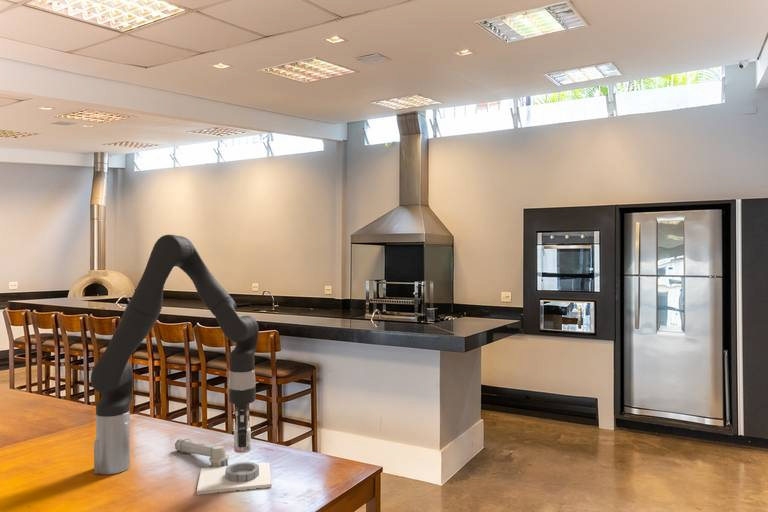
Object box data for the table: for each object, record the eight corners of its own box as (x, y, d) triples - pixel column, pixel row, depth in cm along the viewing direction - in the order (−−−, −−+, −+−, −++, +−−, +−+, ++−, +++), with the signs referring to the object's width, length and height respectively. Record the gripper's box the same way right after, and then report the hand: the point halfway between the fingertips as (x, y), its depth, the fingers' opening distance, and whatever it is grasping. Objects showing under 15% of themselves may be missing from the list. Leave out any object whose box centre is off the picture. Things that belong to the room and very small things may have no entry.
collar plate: (196, 494, 154) (196, 483, 154) (201, 471, 170) (201, 461, 170) (271, 487, 159) (271, 476, 159) (269, 465, 174) (269, 456, 174)
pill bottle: (235, 448, 167) (235, 419, 167) (252, 447, 167) (251, 419, 167) (232, 454, 162) (232, 424, 162) (249, 453, 163) (249, 424, 162)
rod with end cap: (186, 436, 190) (231, 442, 174) (188, 456, 190) (232, 464, 174) (172, 440, 186) (216, 447, 170) (174, 461, 186) (218, 469, 170)
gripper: (229, 380, 170) (229, 436, 171) (228, 392, 156) (228, 453, 157) (255, 378, 172) (255, 434, 172) (255, 390, 158) (256, 451, 159)
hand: (242, 443), depth 165 cm, fingers closed on pill bottle, 4 cm apart
